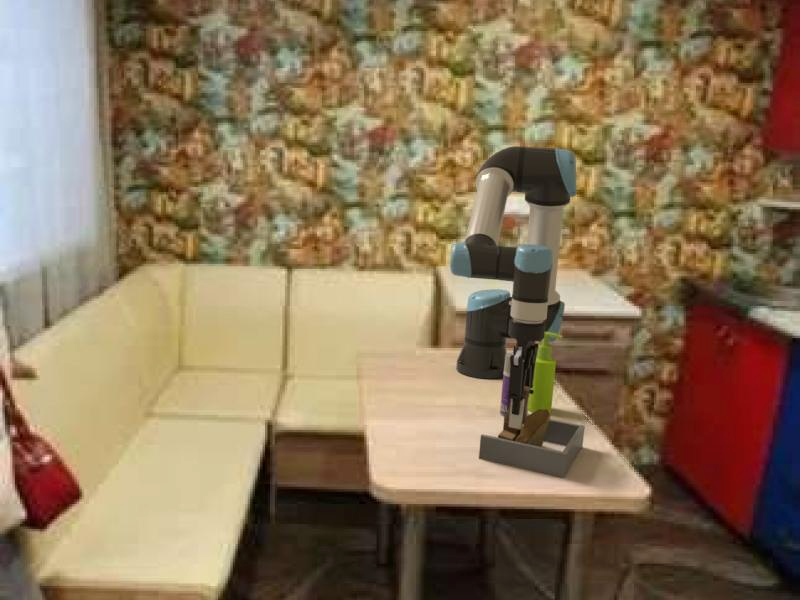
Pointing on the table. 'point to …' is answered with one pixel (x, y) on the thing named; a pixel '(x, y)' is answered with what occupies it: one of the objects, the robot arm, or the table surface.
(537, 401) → the soap dispenser
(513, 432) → the brown t-shaped block
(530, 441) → the rock
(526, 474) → the table surface
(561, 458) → the box
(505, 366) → the container
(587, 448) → the table surface
